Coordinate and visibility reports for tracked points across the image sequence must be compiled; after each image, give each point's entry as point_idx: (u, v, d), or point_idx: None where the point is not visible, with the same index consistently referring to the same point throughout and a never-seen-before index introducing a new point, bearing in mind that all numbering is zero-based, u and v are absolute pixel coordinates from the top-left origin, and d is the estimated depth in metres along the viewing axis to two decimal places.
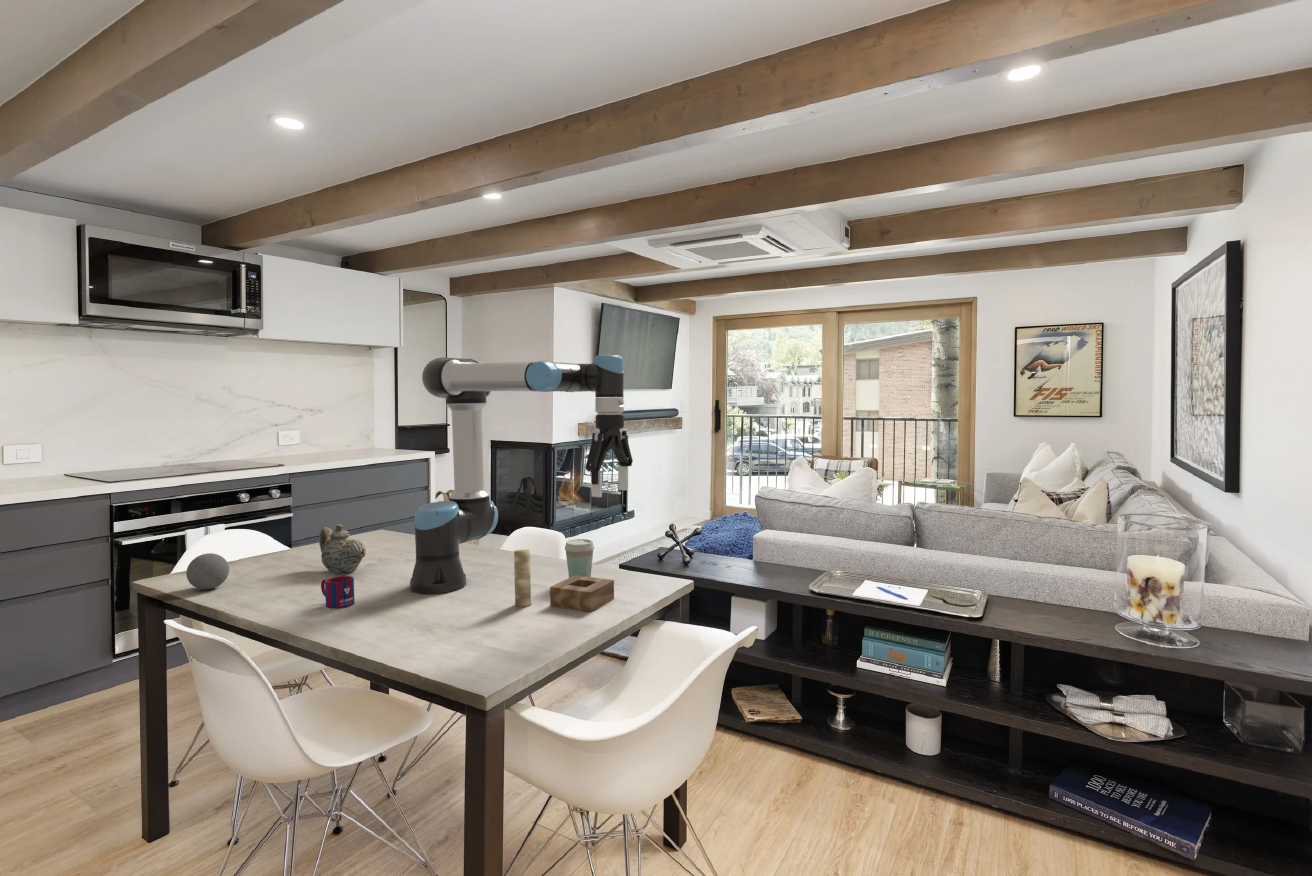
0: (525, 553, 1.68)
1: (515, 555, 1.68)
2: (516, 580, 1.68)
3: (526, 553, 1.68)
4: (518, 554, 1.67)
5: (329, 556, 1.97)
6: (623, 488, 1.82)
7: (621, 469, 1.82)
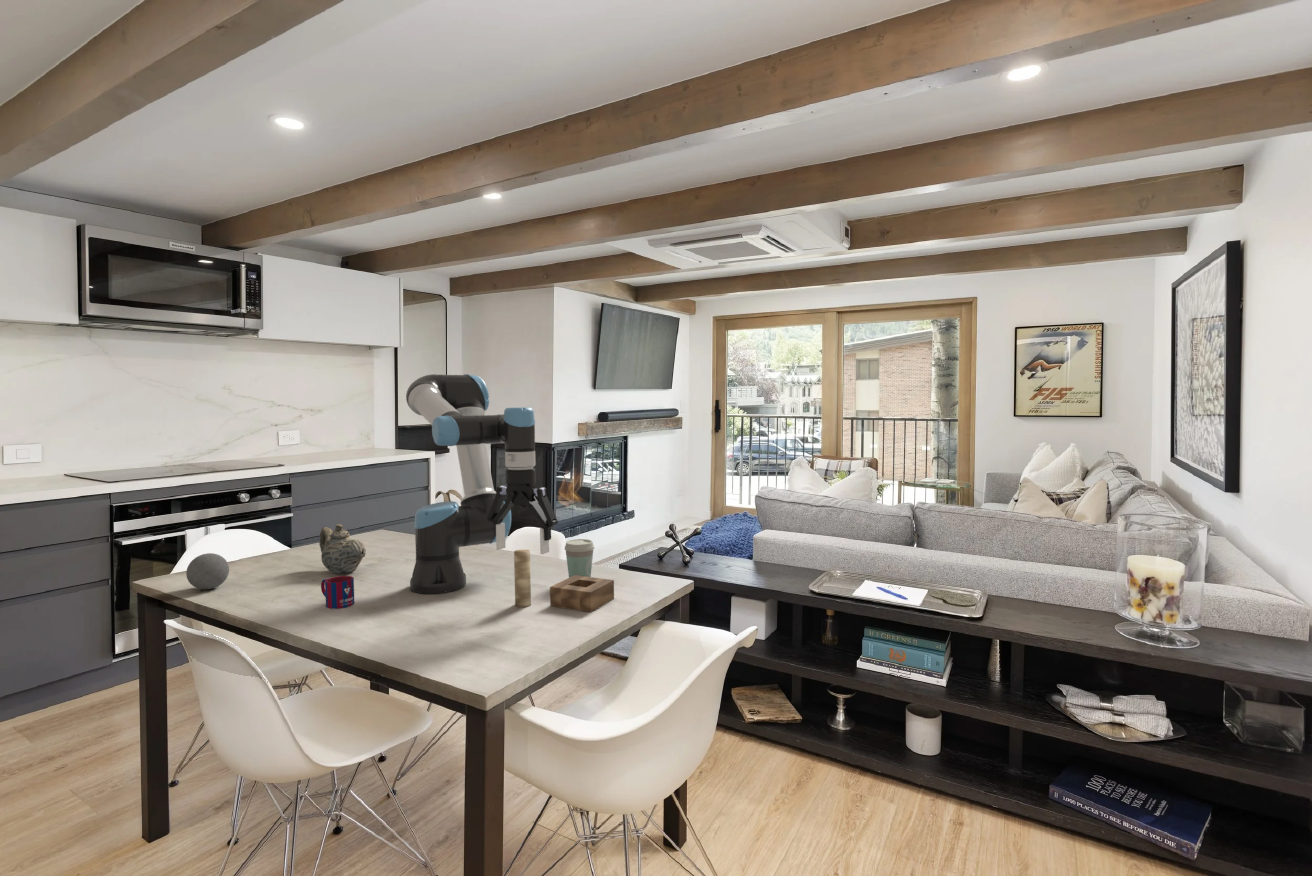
0: (525, 553, 1.68)
1: (515, 555, 1.68)
2: (516, 580, 1.68)
3: (526, 553, 1.68)
4: (518, 554, 1.67)
5: (329, 556, 1.97)
6: None
7: None
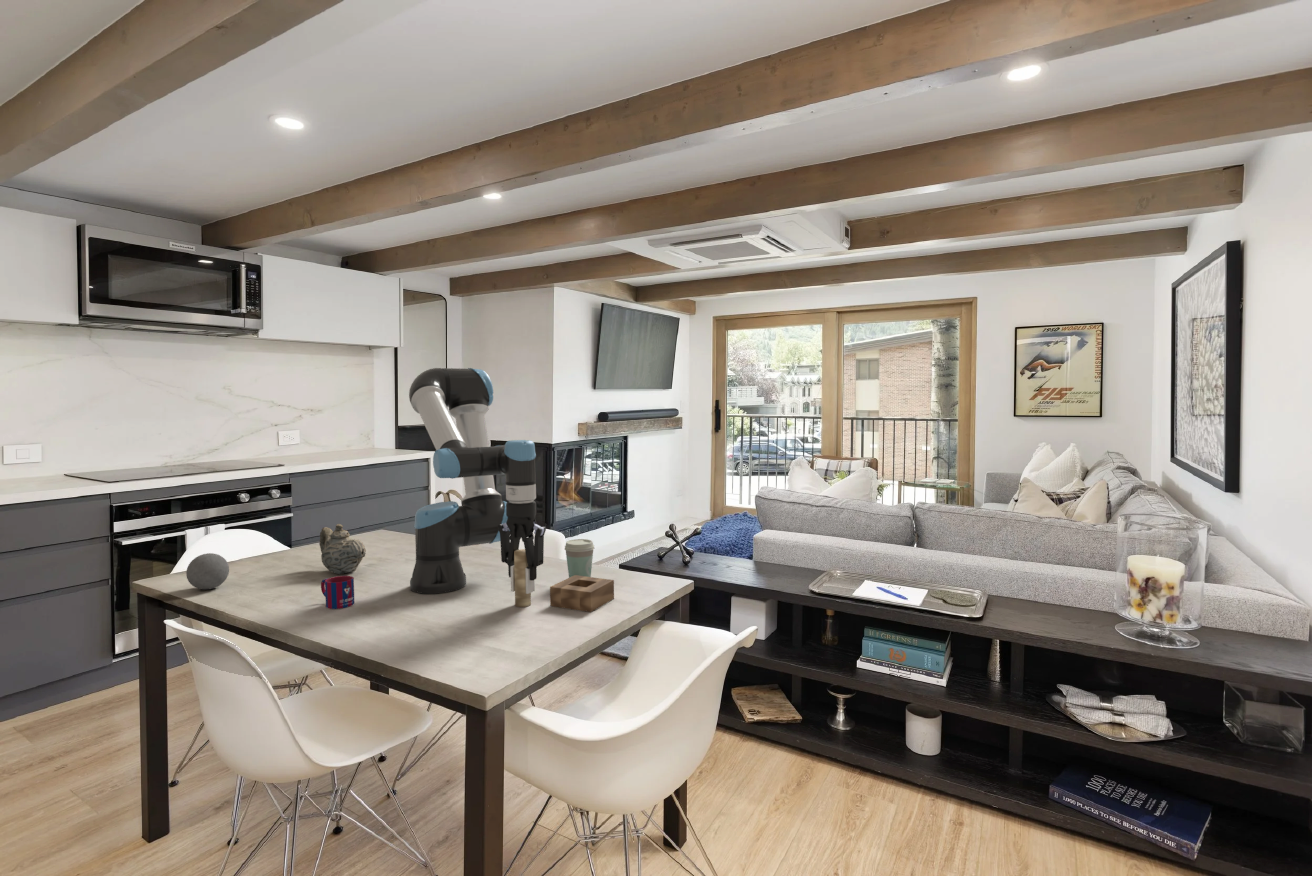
0: (525, 553, 1.68)
1: (515, 555, 1.68)
2: (516, 580, 1.68)
3: None
4: (518, 554, 1.67)
5: (329, 556, 1.97)
6: None
7: None
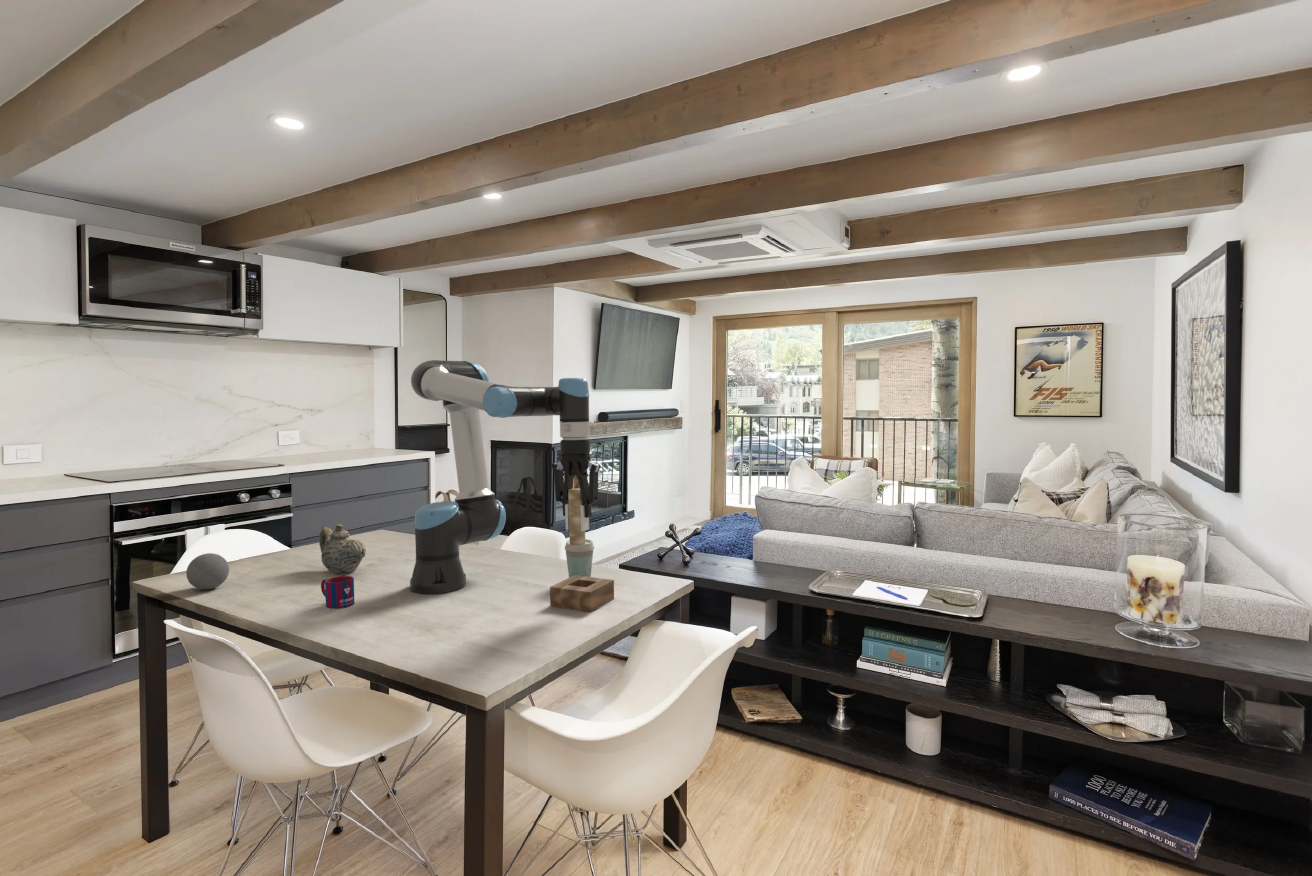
0: (579, 491, 1.68)
1: (569, 493, 1.68)
2: (571, 518, 1.68)
3: (580, 491, 1.68)
4: (573, 491, 1.68)
5: (329, 556, 1.97)
6: None
7: None
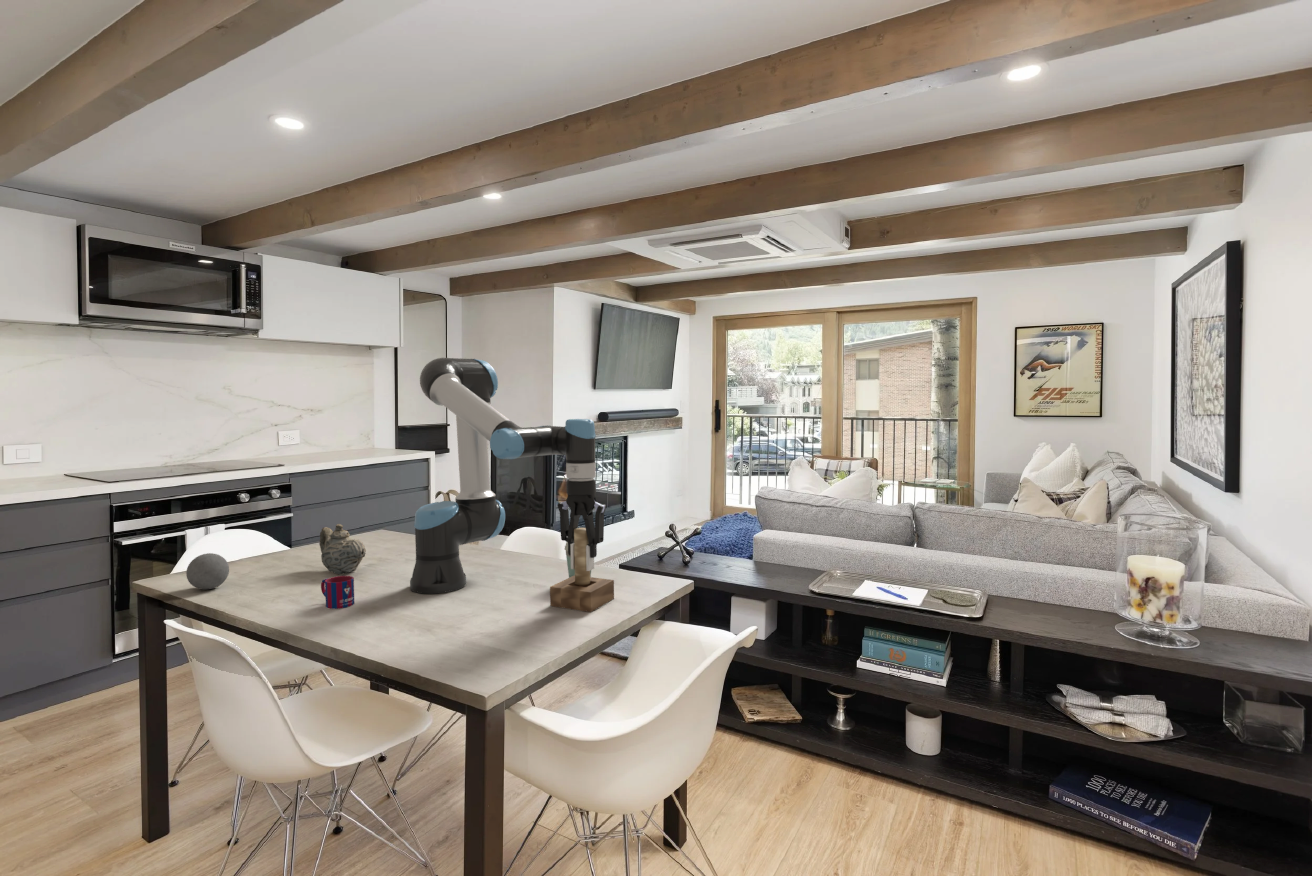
0: (585, 531, 1.69)
1: (575, 533, 1.69)
2: (576, 558, 1.70)
3: None
4: (579, 531, 1.69)
5: (329, 556, 1.97)
6: None
7: None
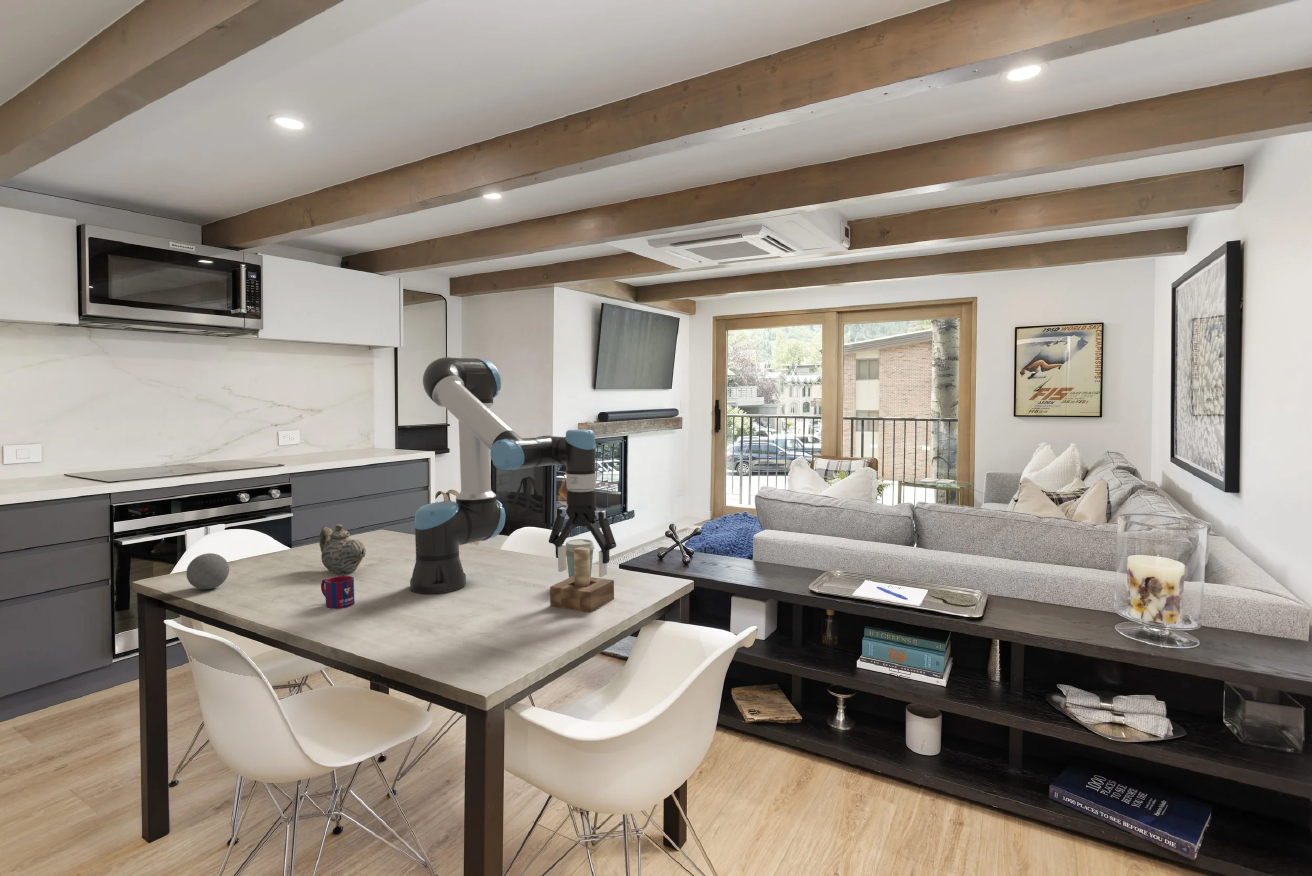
0: (585, 551, 1.70)
1: (575, 553, 1.70)
2: (576, 578, 1.70)
3: (586, 551, 1.70)
4: (578, 552, 1.69)
5: (329, 556, 1.97)
6: None
7: None
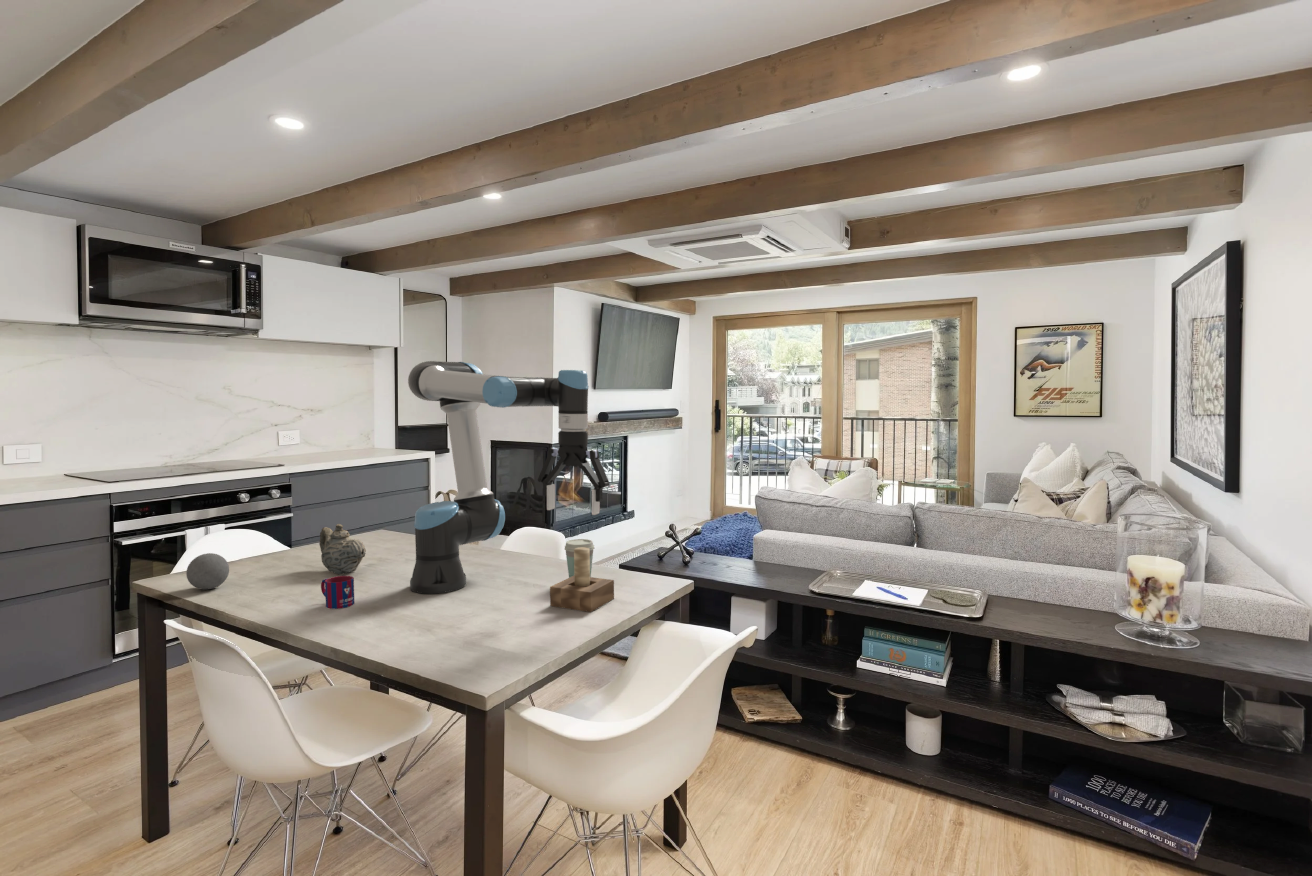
0: (585, 551, 1.70)
1: (575, 553, 1.70)
2: (576, 578, 1.70)
3: (586, 551, 1.70)
4: (578, 552, 1.69)
5: (329, 556, 1.97)
6: None
7: None
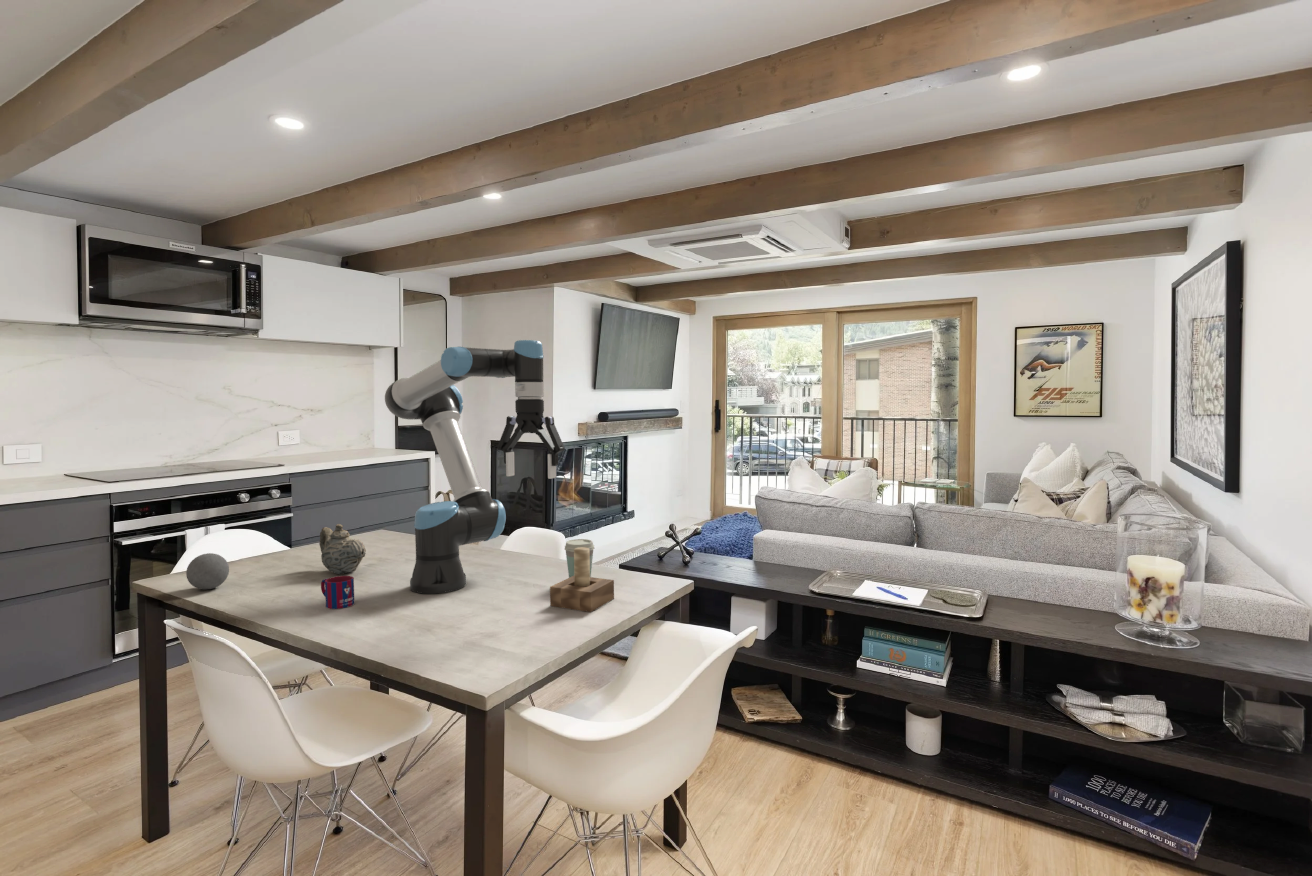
0: (585, 551, 1.70)
1: (575, 553, 1.70)
2: (576, 578, 1.70)
3: (586, 551, 1.70)
4: (578, 552, 1.69)
5: (329, 556, 1.97)
6: None
7: None
